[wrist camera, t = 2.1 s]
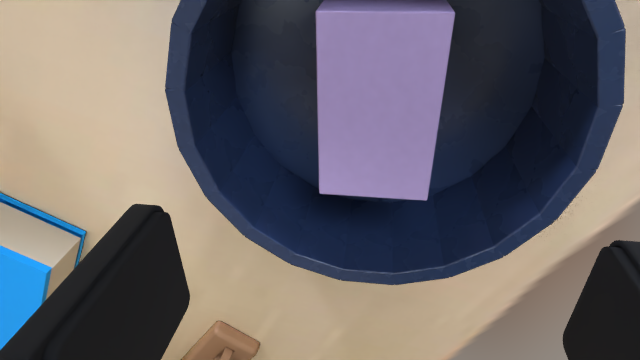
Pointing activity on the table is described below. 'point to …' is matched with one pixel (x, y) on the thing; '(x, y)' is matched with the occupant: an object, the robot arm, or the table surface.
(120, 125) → the table surface
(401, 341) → the table surface
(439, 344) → the table surface
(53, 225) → the book
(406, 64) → the soap
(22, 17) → the table surface
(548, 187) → the tin
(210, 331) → the brown character figurine
